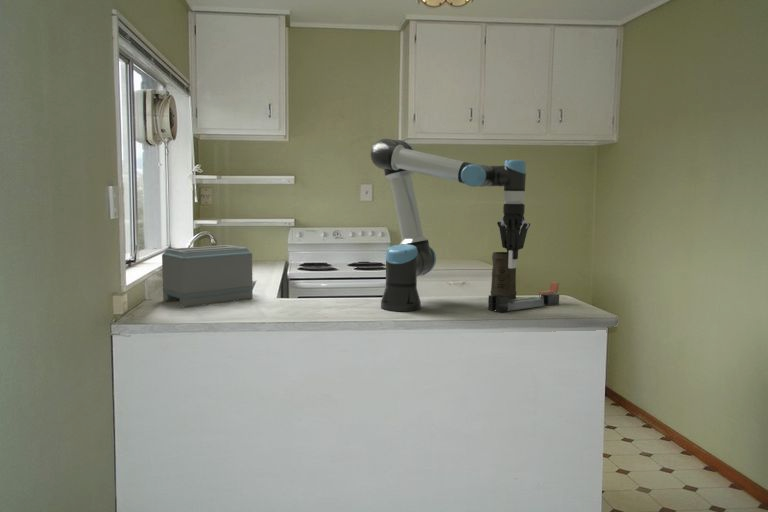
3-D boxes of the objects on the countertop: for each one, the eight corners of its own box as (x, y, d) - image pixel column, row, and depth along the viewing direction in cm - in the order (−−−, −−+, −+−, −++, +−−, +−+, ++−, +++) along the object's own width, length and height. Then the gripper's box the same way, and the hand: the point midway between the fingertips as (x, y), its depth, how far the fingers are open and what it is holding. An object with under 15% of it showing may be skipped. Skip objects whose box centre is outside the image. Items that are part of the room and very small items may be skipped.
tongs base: (549, 302, 254) (549, 288, 253) (558, 304, 250) (559, 290, 249) (488, 309, 237) (488, 295, 236) (497, 312, 232) (497, 297, 232)
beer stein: (516, 303, 249) (518, 253, 248) (489, 302, 251) (491, 252, 250) (516, 299, 264) (518, 251, 263) (490, 298, 266) (492, 251, 265)
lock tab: (552, 291, 252) (552, 281, 252) (558, 292, 250) (558, 282, 249) (537, 293, 248) (538, 283, 248) (543, 294, 245) (544, 284, 245)
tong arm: (539, 305, 246) (539, 291, 245) (543, 306, 244) (544, 292, 244) (495, 311, 233) (495, 297, 233) (499, 312, 231) (500, 298, 231)
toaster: (261, 297, 255) (261, 247, 253) (184, 308, 232) (183, 253, 230) (237, 291, 269) (236, 243, 266) (161, 301, 245) (160, 248, 243)
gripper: (535, 203, 225) (533, 269, 228) (505, 202, 235) (503, 265, 237) (523, 203, 220) (521, 270, 223) (493, 202, 230) (491, 267, 232)
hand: (512, 267), depth 230 cm, fingers closed
